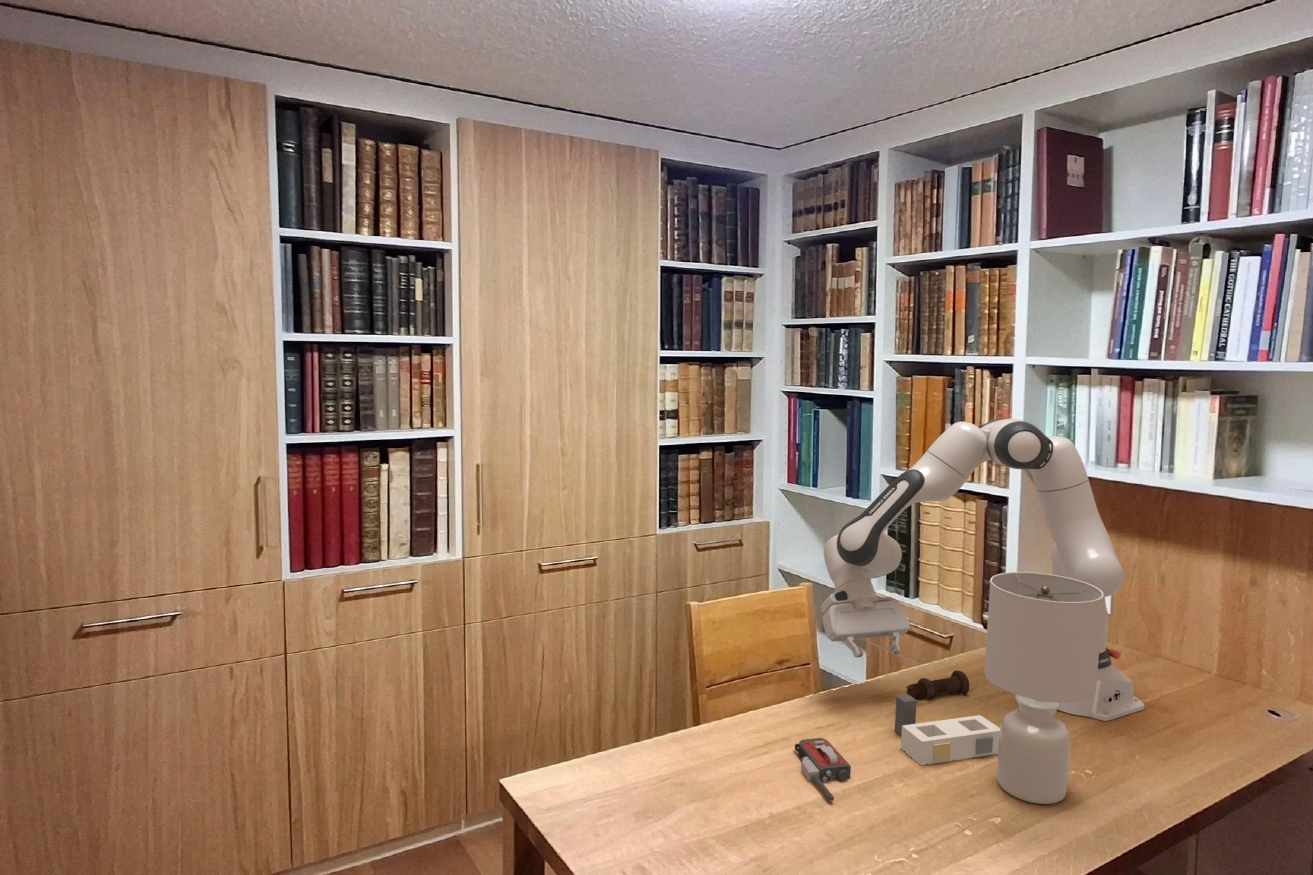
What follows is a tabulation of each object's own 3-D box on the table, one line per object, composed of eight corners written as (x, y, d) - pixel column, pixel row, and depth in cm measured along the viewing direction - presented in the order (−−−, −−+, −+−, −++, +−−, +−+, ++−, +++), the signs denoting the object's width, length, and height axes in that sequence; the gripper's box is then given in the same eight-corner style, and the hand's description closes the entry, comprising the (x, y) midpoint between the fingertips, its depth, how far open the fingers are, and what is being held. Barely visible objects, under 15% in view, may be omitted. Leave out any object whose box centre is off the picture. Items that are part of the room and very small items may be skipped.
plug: (906, 729, 176) (908, 694, 175) (914, 736, 173) (916, 700, 172) (894, 731, 175) (896, 695, 174) (902, 737, 172) (904, 701, 171)
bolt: (907, 705, 192) (960, 695, 196) (918, 703, 187) (972, 693, 192) (900, 680, 194) (952, 671, 199) (911, 677, 190) (965, 668, 194)
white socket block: (978, 737, 173) (980, 714, 172) (1003, 754, 165) (1004, 731, 165) (900, 748, 167) (901, 725, 167) (922, 766, 160) (923, 742, 159)
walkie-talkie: (784, 752, 166) (826, 807, 146) (785, 732, 165) (827, 784, 146) (824, 748, 168) (871, 801, 148) (825, 728, 167) (872, 778, 148)
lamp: (1085, 828, 140) (1103, 609, 136) (970, 798, 149) (983, 591, 145) (1088, 779, 156) (1104, 581, 152) (984, 753, 165) (996, 566, 161)
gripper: (890, 602, 196) (911, 656, 188) (814, 608, 190) (832, 664, 182) (902, 589, 191) (924, 644, 183) (824, 595, 186) (843, 652, 178)
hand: (877, 654), depth 183 cm, fingers open, 8 cm apart
